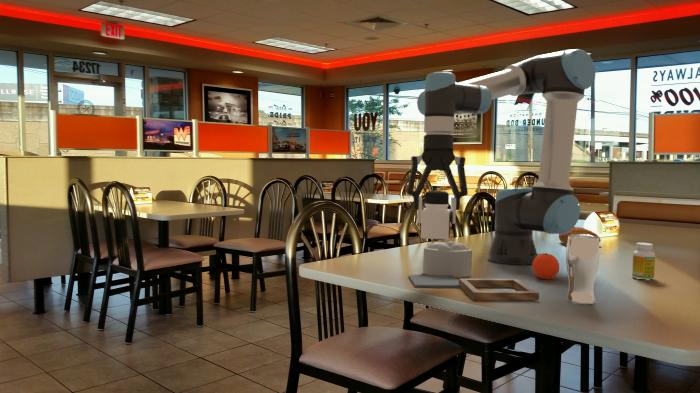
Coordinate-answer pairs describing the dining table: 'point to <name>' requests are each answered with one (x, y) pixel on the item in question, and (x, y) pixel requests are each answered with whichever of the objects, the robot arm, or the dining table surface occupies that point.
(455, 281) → the mat
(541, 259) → the clementine
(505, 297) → the pocket
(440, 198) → the medicine bottle
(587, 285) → the beer glass
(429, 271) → the lumpy-topped squat cylinder
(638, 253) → the supplement bottle
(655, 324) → the dining table surface
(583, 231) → the croissant
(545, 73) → the robot arm
